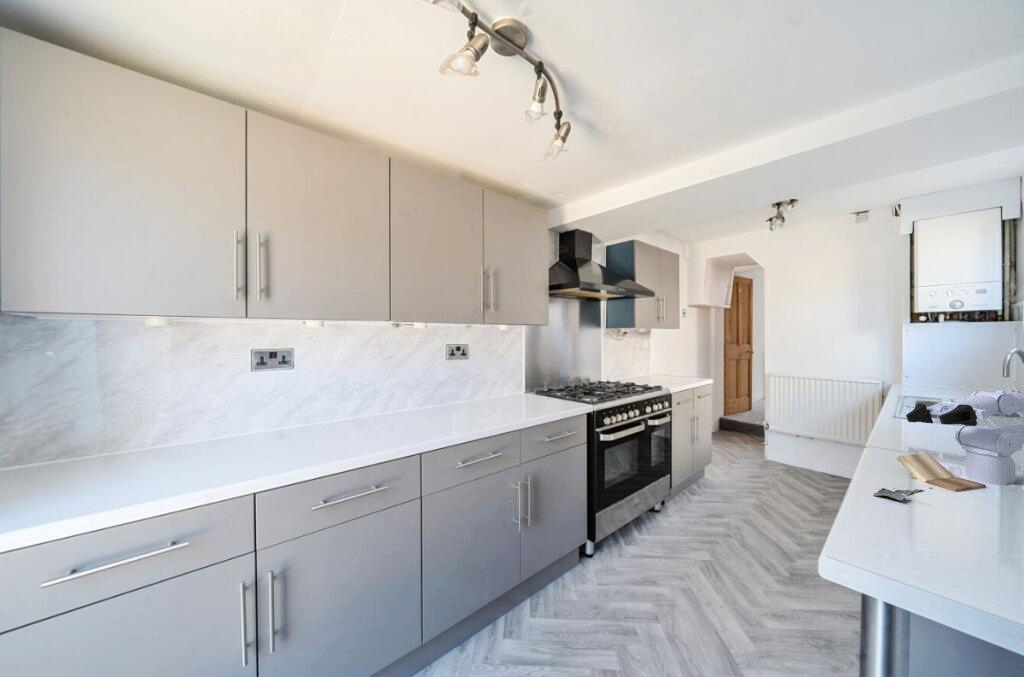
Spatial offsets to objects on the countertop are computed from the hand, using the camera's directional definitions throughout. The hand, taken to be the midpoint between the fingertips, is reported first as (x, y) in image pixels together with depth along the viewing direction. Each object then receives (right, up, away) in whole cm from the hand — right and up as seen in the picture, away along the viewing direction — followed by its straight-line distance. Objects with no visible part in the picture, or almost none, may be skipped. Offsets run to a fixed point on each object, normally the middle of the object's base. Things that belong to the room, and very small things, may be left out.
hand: (924, 419), depth 101 cm
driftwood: (-6, -20, -2) cm, 21 cm away
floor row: (+7, -19, +4) cm, 21 cm away
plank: (+7, -16, +6) cm, 18 cm away
